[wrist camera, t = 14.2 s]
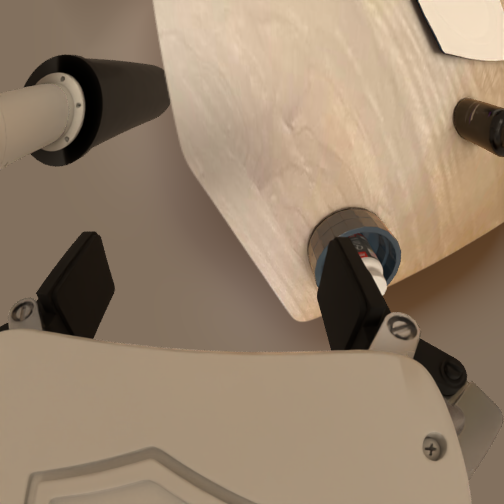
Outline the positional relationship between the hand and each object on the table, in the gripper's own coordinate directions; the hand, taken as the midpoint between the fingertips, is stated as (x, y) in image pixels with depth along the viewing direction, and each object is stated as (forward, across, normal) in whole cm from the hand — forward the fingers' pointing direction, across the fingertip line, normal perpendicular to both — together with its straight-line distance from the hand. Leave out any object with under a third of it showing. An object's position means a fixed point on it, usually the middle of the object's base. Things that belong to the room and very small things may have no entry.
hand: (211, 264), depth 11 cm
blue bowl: (+26, -17, +15) cm, 34 cm away
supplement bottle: (+26, -34, -8) cm, 43 cm away
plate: (+26, -31, -28) cm, 49 cm away
